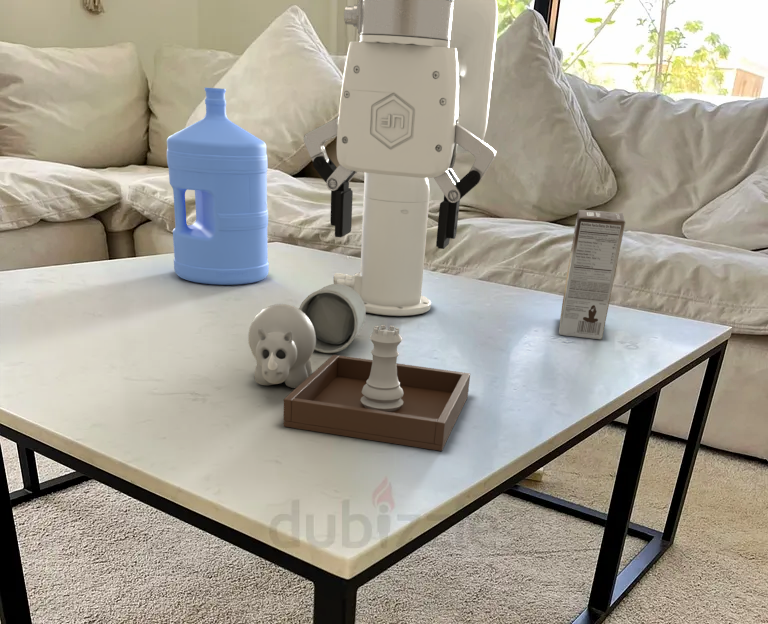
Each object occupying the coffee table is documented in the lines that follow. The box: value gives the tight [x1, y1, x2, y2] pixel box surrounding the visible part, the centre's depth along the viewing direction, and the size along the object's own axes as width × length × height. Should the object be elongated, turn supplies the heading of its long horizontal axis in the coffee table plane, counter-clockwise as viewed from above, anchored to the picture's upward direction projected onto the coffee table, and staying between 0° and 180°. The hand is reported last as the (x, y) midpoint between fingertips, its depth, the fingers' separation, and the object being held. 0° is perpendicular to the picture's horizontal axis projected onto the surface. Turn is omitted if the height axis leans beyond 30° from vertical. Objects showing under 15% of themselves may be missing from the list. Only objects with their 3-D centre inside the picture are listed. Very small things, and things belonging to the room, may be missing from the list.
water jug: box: [166, 87, 270, 286], centre depth 125 cm, size 16×16×28 cm
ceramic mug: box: [298, 283, 367, 354], centre depth 99 cm, size 11×8×8 cm
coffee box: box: [558, 209, 626, 340], centre depth 111 cm, size 9×6×16 cm
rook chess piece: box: [360, 324, 404, 412], centre depth 78 cm, size 4×4×8 cm
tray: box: [283, 354, 471, 452], centre depth 80 cm, size 16×16×3 cm
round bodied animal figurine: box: [248, 303, 316, 389], centre depth 82 cm, size 7×12×8 cm, turn 177°
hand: (392, 240), depth 73 cm, fingers open, 9 cm apart
